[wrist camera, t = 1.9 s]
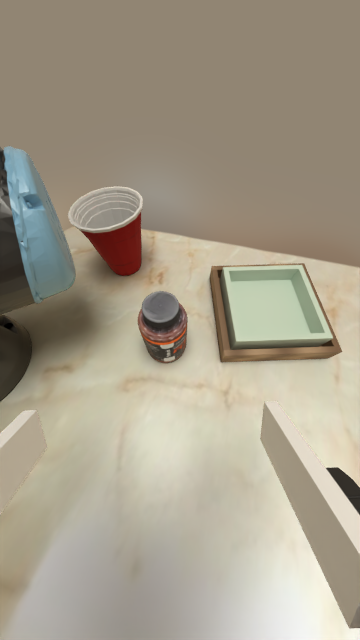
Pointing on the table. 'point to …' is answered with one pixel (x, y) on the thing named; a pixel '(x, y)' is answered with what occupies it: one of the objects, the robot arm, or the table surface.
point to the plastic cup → (112, 225)
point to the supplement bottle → (163, 326)
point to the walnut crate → (263, 354)
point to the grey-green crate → (271, 308)
